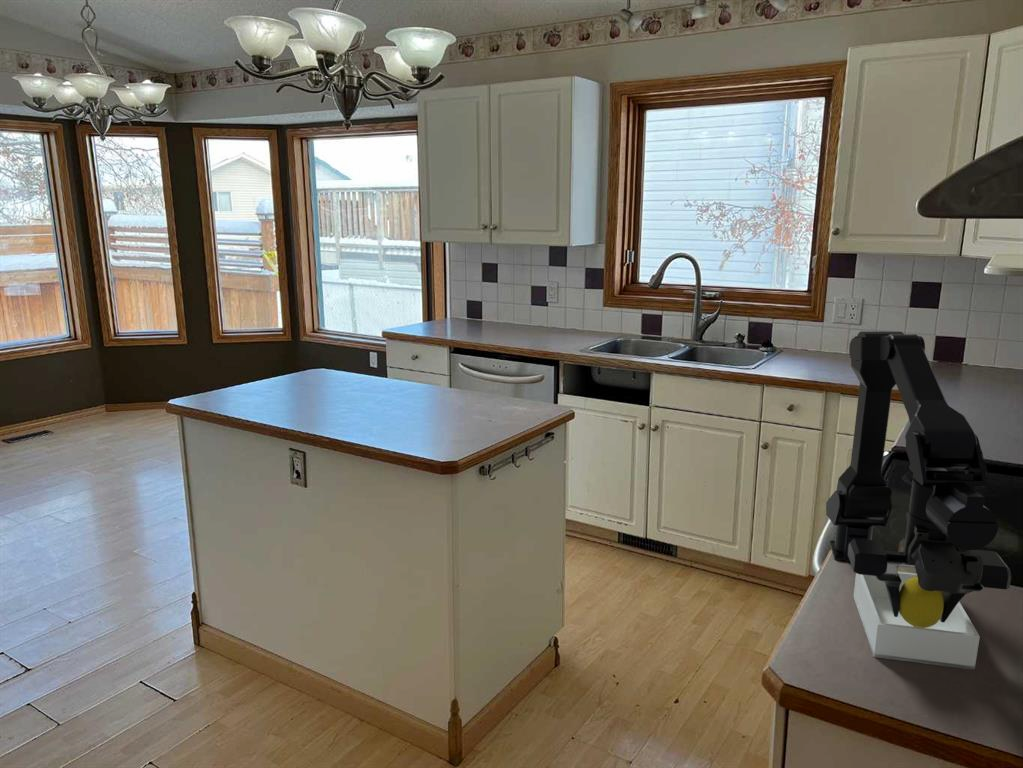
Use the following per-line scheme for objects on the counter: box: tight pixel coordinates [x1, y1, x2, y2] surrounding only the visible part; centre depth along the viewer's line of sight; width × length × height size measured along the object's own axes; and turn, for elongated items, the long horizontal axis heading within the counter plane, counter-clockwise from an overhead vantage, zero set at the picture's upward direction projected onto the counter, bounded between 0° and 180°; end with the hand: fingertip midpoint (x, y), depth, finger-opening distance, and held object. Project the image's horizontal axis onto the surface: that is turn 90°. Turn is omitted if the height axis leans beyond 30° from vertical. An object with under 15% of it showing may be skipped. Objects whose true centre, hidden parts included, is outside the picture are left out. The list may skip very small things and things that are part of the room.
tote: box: [853, 572, 980, 671], centre depth 107 cm, size 16×12×5 cm
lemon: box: [899, 577, 944, 628], centre depth 103 cm, size 6×6×8 cm
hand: (918, 618), depth 103 cm, fingers closed on lemon, 5 cm apart
